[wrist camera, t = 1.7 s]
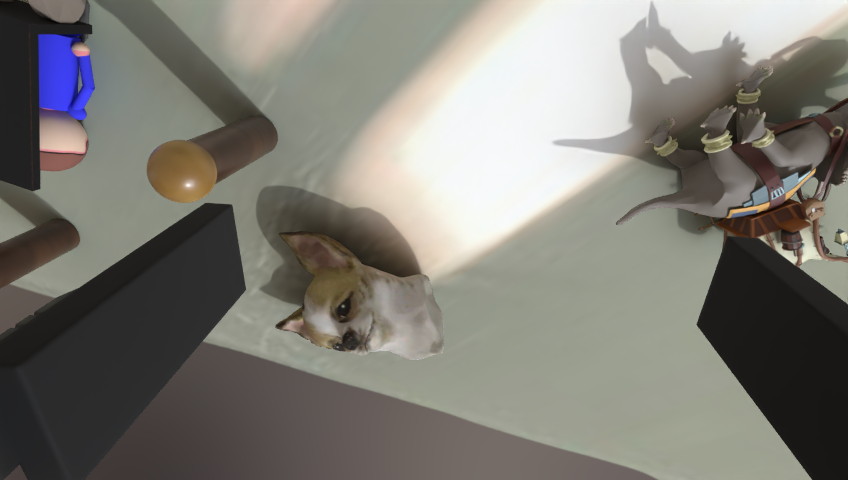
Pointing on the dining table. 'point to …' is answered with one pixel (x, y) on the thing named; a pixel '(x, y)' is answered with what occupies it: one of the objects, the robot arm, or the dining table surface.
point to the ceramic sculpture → (362, 304)
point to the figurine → (760, 174)
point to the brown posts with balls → (168, 174)
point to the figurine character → (42, 87)
